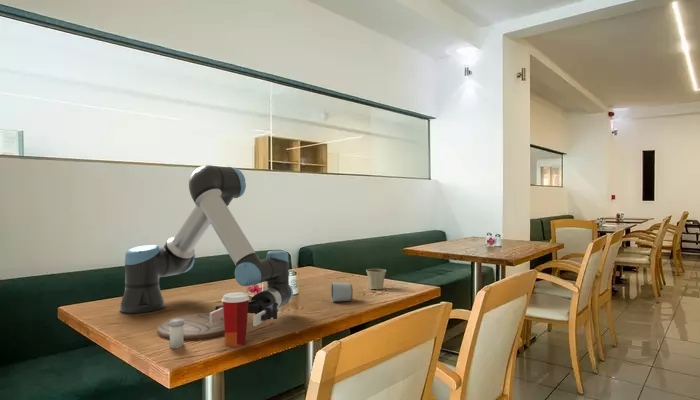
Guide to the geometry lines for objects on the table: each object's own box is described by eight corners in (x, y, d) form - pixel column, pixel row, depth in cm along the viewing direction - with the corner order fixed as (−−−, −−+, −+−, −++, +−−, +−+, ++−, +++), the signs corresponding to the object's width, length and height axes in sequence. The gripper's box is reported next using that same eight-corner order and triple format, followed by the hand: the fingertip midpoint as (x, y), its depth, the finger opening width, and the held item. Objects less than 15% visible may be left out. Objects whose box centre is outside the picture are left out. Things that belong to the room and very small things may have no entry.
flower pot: (376, 286, 204) (376, 267, 204) (390, 289, 197) (390, 270, 197) (361, 288, 198) (361, 270, 198) (375, 292, 191) (375, 272, 191)
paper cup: (247, 338, 127) (247, 291, 127) (251, 346, 120) (251, 296, 120) (220, 341, 124) (220, 293, 124) (222, 349, 117) (222, 298, 117)
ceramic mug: (353, 302, 171) (353, 283, 171) (333, 303, 169) (333, 284, 169) (348, 297, 181) (348, 279, 181) (329, 298, 180) (329, 279, 180)
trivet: (208, 314, 155) (208, 309, 155) (256, 325, 141) (256, 320, 141) (141, 331, 135) (141, 325, 135) (189, 347, 120) (189, 340, 120)
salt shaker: (166, 347, 119) (166, 321, 119) (175, 343, 123) (175, 318, 123) (178, 349, 118) (178, 322, 118) (186, 344, 122) (186, 319, 122)
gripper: (301, 316, 137) (273, 336, 117) (231, 311, 144) (193, 329, 123) (301, 292, 137) (273, 308, 117) (231, 288, 144) (193, 303, 123)
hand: (232, 319), depth 120 cm, fingers open, 13 cm apart
